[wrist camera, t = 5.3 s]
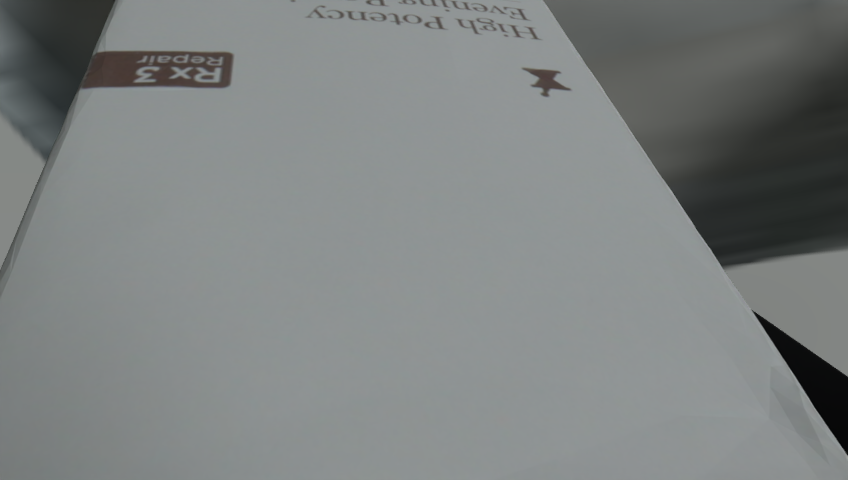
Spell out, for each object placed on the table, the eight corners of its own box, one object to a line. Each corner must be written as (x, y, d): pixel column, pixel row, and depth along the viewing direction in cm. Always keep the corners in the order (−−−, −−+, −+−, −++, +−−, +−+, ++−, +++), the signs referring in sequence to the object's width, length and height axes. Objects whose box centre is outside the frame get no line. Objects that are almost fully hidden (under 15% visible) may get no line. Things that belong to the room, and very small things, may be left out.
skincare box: (504, -78, 12) (1162, 705, 3) (466, 140, 15) (764, 881, 6) (131, -103, 11) (-442, 1040, 2) (167, 139, 14) (-9, 1066, 5)
